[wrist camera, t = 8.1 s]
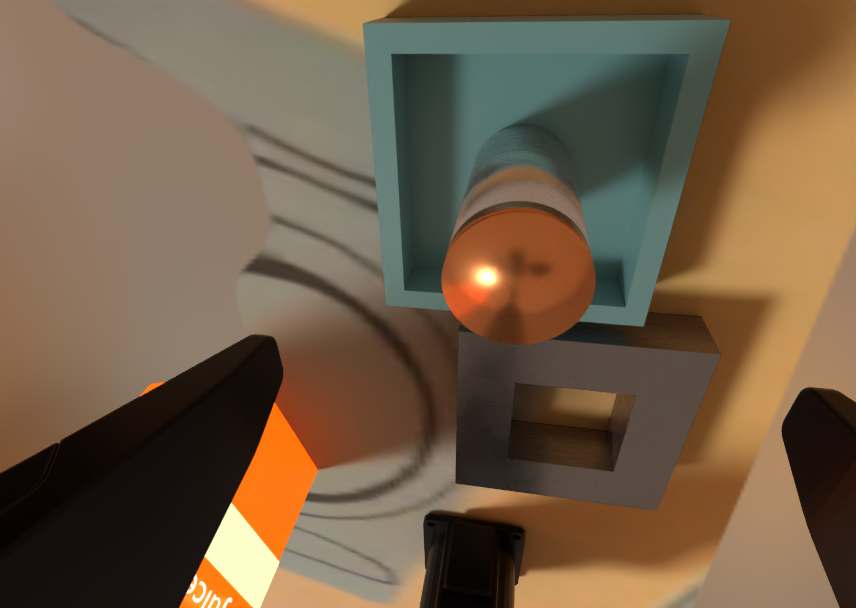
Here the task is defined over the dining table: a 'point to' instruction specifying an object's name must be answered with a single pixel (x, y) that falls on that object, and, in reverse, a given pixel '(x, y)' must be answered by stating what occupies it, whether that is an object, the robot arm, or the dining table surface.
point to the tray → (546, 107)
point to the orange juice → (255, 522)
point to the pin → (520, 242)
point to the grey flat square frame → (574, 447)
